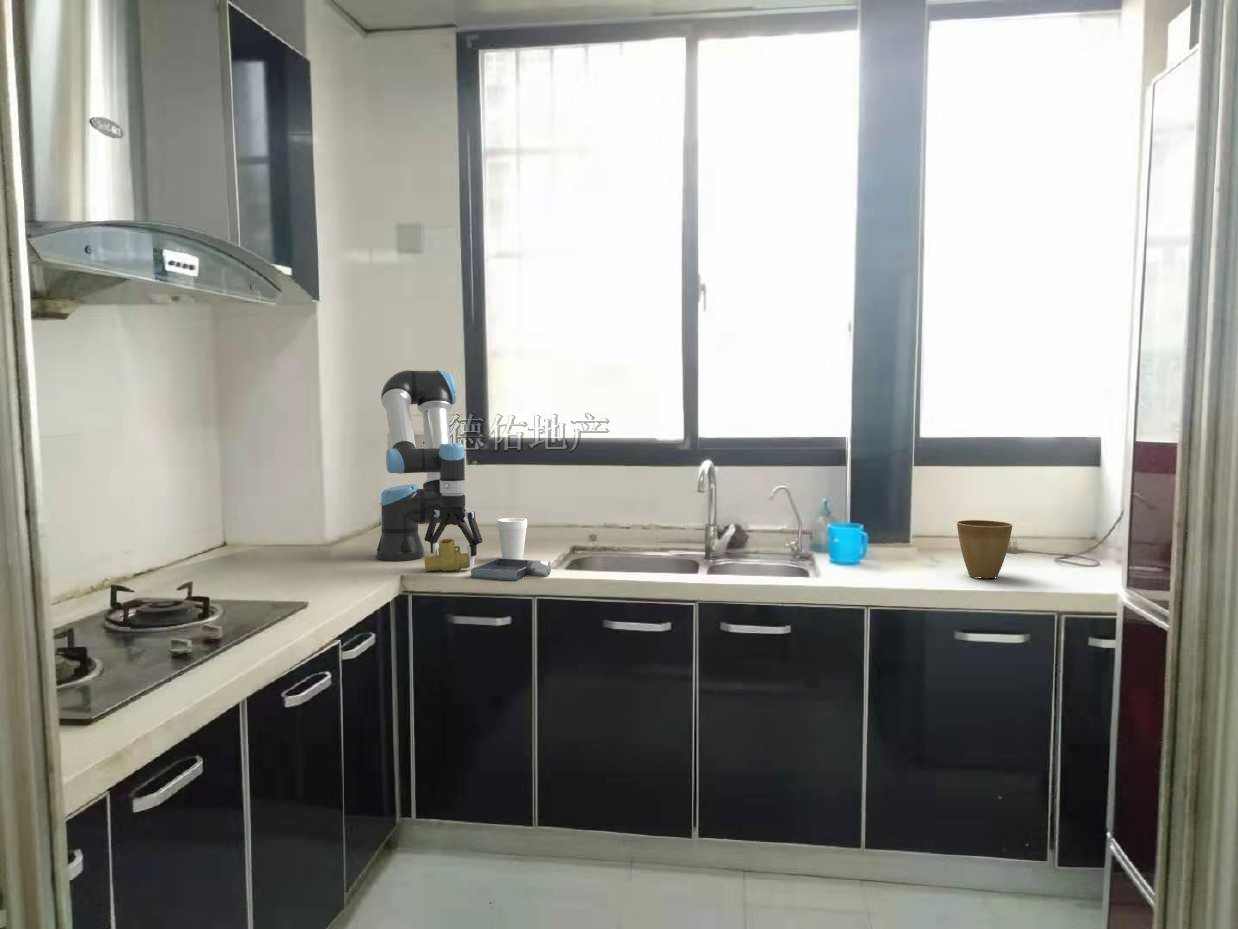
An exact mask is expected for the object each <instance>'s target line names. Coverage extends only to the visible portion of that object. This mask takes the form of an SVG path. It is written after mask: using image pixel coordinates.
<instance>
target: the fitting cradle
mask: <svg viewBox="0 0 1238 929" xmlns="http://www.w3.org/2000/svg"><path fill="white" fill-rule="evenodd" d="M551 570H552V565H551V561H550V560H540V559H539V560H538V559H523V560H521V559H505V558H502V557H497V558H494V559H492V560H489V561H486V562H484V563H482V564H480V565H478V566H475V567H473V568H472V567H471V568H470V578H472V579H487V580H499V581H500V580H502V581H513V582H518V581H519V580H522V579H524V578H525V576H526V577H528V576H539V575H540V576H541V577H549V576H550V574H551V572H552V571H551ZM527 575H528V576H527ZM548 575H549V576H548ZM523 577H524V578H523Z"/></svg>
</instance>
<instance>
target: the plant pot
mask: <svg viewBox="0 0 1238 929" xmlns="http://www.w3.org/2000/svg"><path fill="white" fill-rule="evenodd" d="M956 527H957V533H958V535H957V536H958V540H959V545H960V550H961V553H962V557H963V562H964V564H965V567H966V570H967V573H968V576H969V575H970V576H972V577H971V578H973V577H981V578H995V577H997V578H998V576H999V574H1000V572H1001V569H1002V567H1003V564H1004V562H1005V560H1006V556H1007V552H1008V549H1009V544H1010V541H1011V535H1012V530H1013V523H1010V522H1005V521H998V520H997V521H996V520H986V519H985V520H980V519H963V520H958V521H956ZM970 576H969V577H970Z"/></svg>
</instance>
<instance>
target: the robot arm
mask: <svg viewBox="0 0 1238 929" xmlns="http://www.w3.org/2000/svg"><path fill="white" fill-rule="evenodd" d="M454 380H455V379H454V377H453V375H452V374H451V373H450V372H449V371H446V370H438V369H437V370H410V369H409V370H407V369H406V370H402V371H398V372H397V373H395V374H393V375H392V376H391V377H390V378H388V379H387V381H386V382H385V384H384V386H383V388H382V391H381V394H380V396H381V398H380V400H381V405H382V406H383V408H384V409H385V412H386V420H387V427H388V434H389V442H390V449H387V450H386V452H385V465H386V471H387V473H389V474H400V475H401V474H420V473H426V480H425V481H424V482H423V483H422V488H419V487H418V485H417V484H403V485H396V486H392V487H388V488H386V489H384V490H382V492H381V495H380V510H381V511H380V517H381V518H380V520H381V525H380V526H381V535H380V538H379V542H378V544H377V548H376V559H377V560H380V561H386V562H387V561H388V562H389V561H390V562H399V561H400V562H401V561H402V562H403V561H413V560H417V559H418V560H419V559H421V558H423V557H425V548H424V545H423V542H422V540H421V537H420V534H419V525H428V526H427V528H426V533H425V536H424V541H425V542H428V543H429V544H430V554H431V555H432V556H439V552H438V548H439V539H440V538H441V536H442V534H443V532H444V531H445V529H446V527H447V526H449V525H452V526H457V527H458V528H460V530H461V532H462V534H463V535H464V537H465V539H466V541H467V542H468V544H469V545H468V546H467V553H468V567H469V568H472V567H473V568H474V566H475V556H477V555H478V554H477V551H478V550H477V548H478V547H477V546H478V545H479V544H482V543H483V538H482V535H481V532H480V528H479V525H478V523H477V520H476V511H466V495H465V493H466V481H465V480H466V478H465V476H466V474H465V468H466V466H465V463H466V462H465V457H466V453H465V445H464V444H463V443H459V442H451V434H450V423H449V422H450V421H449V412H450V411H451V410H452V409H453V405H454V404H456V403H457V402H456V401H457V393H456V391H457V390H456V384H455V381H454ZM411 405H417V411H418V412H419V413H421V414H422V422H423V436H424V448H417V445H416V441H415V434H414V428H413V422H412V416H411V409H410V406H411ZM465 517H466V519H467V521H466V520H465ZM467 522H468V523H467ZM437 524H439V525H438V526H437ZM467 524H468V525H469V526H468V525H467ZM436 527H437V528H436Z"/></svg>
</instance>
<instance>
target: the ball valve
mask: <svg viewBox="0 0 1238 929" xmlns="http://www.w3.org/2000/svg"><path fill="white" fill-rule="evenodd" d="M438 543H439V548H438V552H439V556H433V555H432V556H431V555H430V556H424V569H425V572H433V571H434V572H435V571H437V572H438V571H443V572H444V571H445V572H456V571H457V572H461V570H464V569H469V568H470V567H468V552H465V553H464V552H463V553H461V545H456V544H455V539H452V538H443V539H440V540H438Z"/></svg>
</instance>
